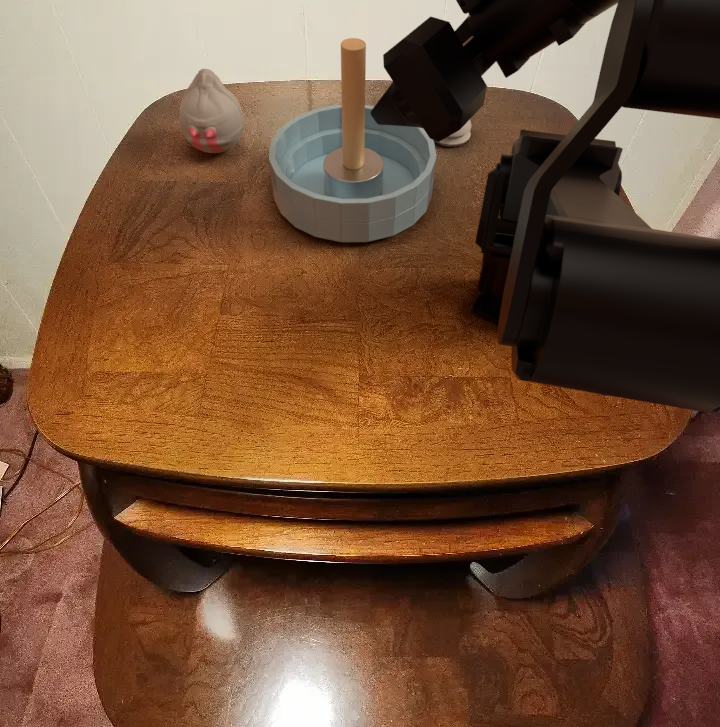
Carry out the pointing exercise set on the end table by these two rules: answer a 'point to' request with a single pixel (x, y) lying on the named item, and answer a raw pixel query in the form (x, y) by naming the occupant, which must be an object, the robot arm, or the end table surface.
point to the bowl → (350, 216)
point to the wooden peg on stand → (353, 134)
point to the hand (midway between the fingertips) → (405, 90)
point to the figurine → (210, 114)
